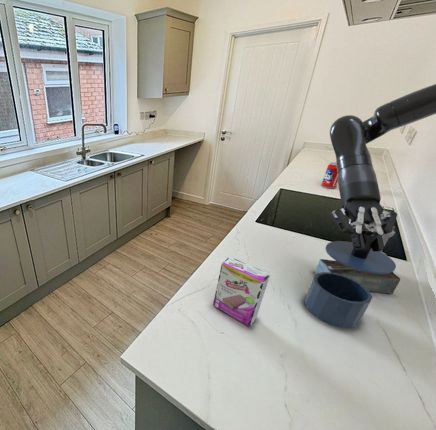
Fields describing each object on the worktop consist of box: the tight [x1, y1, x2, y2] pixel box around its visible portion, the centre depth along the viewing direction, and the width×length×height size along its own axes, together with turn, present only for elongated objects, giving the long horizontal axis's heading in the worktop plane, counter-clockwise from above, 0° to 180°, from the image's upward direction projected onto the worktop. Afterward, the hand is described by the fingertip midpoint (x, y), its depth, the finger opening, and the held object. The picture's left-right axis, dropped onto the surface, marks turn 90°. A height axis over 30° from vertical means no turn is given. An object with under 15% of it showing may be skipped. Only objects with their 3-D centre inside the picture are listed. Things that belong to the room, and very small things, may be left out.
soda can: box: [320, 161, 338, 190], centre depth 161 cm, size 8×8×15 cm
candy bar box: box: [212, 256, 271, 328], centre depth 73 cm, size 11×5×16 cm, turn 43°
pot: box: [304, 272, 373, 329], centre depth 75 cm, size 13×13×9 cm
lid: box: [325, 229, 397, 274], centre depth 65 cm, size 14×14×8 cm
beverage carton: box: [314, 258, 401, 295], centre depth 85 cm, size 8×19×7 cm, turn 77°
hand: (369, 250), depth 64 cm, fingers closed on lid, 3 cm apart
